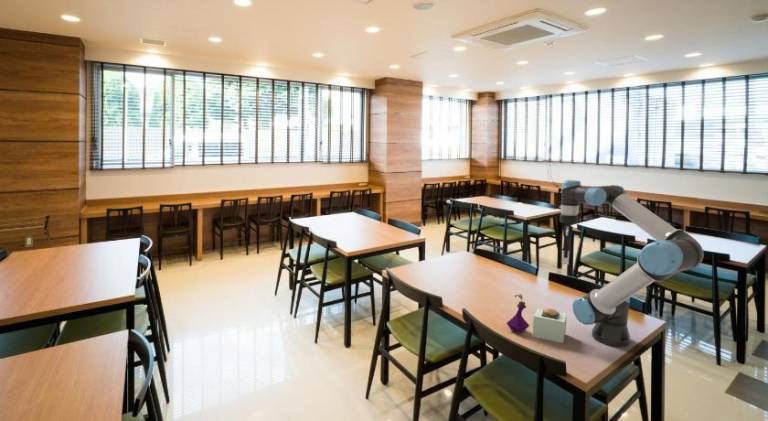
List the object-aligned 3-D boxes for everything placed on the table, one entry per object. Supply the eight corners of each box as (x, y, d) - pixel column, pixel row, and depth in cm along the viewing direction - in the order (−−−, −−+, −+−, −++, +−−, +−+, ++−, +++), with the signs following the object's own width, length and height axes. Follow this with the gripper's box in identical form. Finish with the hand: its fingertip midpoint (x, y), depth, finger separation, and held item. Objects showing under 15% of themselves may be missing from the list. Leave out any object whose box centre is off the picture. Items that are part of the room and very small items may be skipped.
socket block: (565, 334, 186) (566, 312, 185) (563, 343, 178) (565, 320, 176) (535, 327, 193) (537, 307, 191) (532, 336, 184) (533, 314, 182)
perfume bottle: (529, 331, 189) (531, 295, 186) (518, 335, 185) (520, 298, 182) (516, 325, 195) (518, 290, 192) (505, 329, 191) (507, 293, 188)
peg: (556, 330, 186) (557, 310, 184) (555, 335, 181) (556, 314, 180) (543, 327, 189) (544, 307, 187) (541, 332, 184) (543, 312, 182)
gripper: (561, 211, 190) (557, 259, 194) (558, 215, 179) (555, 266, 182) (578, 212, 186) (574, 261, 190) (577, 217, 175) (573, 268, 179)
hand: (565, 263), depth 186 cm, fingers closed
